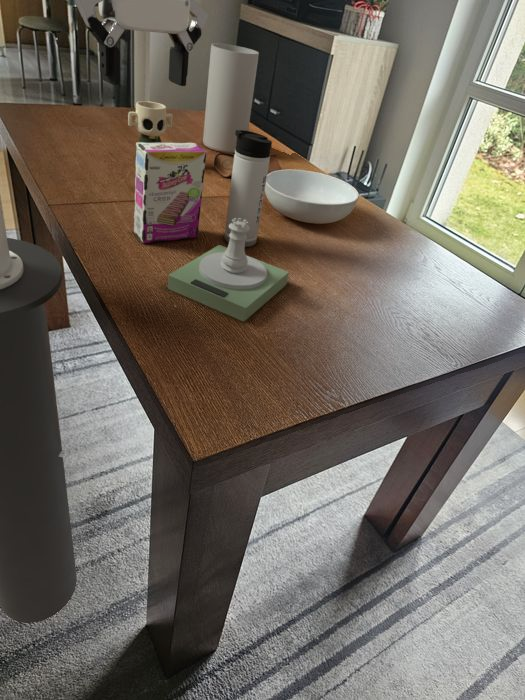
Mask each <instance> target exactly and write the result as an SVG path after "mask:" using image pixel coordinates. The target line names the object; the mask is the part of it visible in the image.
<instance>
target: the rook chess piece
mask: <svg viewBox="0 0 525 700" xmlns="http://www.w3.org/2000/svg"><path fill="white" fill-rule="evenodd" d="M241 219H242V218H238V221H236V218H233V220H232V222H231V223H230V224H229V228H230V230H231V233H230V234H229V237H230V241H229V243H228V244H227V247H226V248H227V250H226V251H225V253H224V254H223V255H222V257H221V260H222V261H221V262H220V265H221V267H222V268H223V270H225V271H226V272H229V273H234V274H238V273H242V272H244V271H245V270H246V269H247V265H246V264H247V263H248V260H247V257H246V255H247V254H246V249H245V248H246V247H245V239H246V238H247V236H246V233H247V232H248V231H249V230H250V228H249V226H248V222H247V220H245V219H244V220H243V222H242V221H241Z"/></svg>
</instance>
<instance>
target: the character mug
mask: <svg viewBox="0 0 525 700" xmlns="http://www.w3.org/2000/svg"><path fill="white" fill-rule="evenodd" d="M133 117H135V122H134V121H133ZM167 119H168V123H167ZM173 122H174V116H173V114H172V113H167V106H166V105H165V104H163V103H159V102H155V101H150V100H140V101H137V102H135V111H128V113H127V124H128V126H129V127H135V128H136V132H137V133H139V134H140V136H139V138H138V142H144V143H145V142H153V143H162V139H161V136H164V135H165V133H166V129H172V128H173Z"/></svg>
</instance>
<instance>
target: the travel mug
mask: <svg viewBox="0 0 525 700" xmlns="http://www.w3.org/2000/svg"><path fill="white" fill-rule="evenodd" d="M235 135H236V136H237V141H236V148H235V153H233V154H234V162H233V170H232V177H231V179H230V187H229V197H228V203H227V211H226V212H227V213H226V221H225V227H224V228H225V230H224V240H225V241H226V242H227V243H228V244H229V241H230V237H229V234H230V233H231V230H230V228H229V224H230V223H231V222H232V220H233V218H236V221H238V218H242V219H241V221H242V222H243V220H244V219H245V220H247V222H248V226H249V228H250V230H249V231H248V232H247V233H246V236H247V238H246V239H245V248H250V247H253V246H254V245H256V244H257V240H258V233H259V228H260V223H261V222H260V221H261V215H262V209H263V203H264V196H265V185H266V179H267V173H268V167H269V161H270V160H269V159H270V155H271V151H272V145H273V141H272V140H271V139H269V138H268V137H267V136H265V135H263V134H261V133H257V132H254V131H251V130H250V131H249V130H248V131H244V130H236V132H235Z"/></svg>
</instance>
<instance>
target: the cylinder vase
mask: <svg viewBox="0 0 525 700" xmlns="http://www.w3.org/2000/svg"><path fill="white" fill-rule="evenodd" d="M209 55H210V56H209V66H208V78H207V89H206V91H207V92H206V101H205V112H204V124H203V134H202V144H203V145H204V146H205V147H206V148H207V149H210V150H212V151H215V152H219V153H230V154H235V148H236V141H237V136H236V135H235V132H236V130H244V131H249V129H250V121H251V115H252V114H251V113H252V106H253V99H254V93H255V85H256V77H257V70H258V63H259V56H260V53H259V51H258V50H254V49H252V48H247V47H243V46H239V45H234V44H229V43H228V44H227V43H217V42H216V43H211V44H210V54H209Z"/></svg>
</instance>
